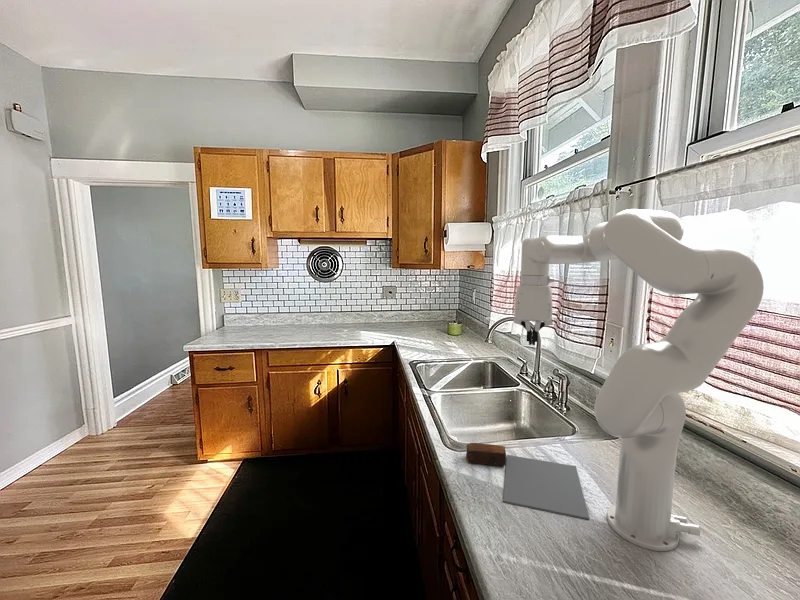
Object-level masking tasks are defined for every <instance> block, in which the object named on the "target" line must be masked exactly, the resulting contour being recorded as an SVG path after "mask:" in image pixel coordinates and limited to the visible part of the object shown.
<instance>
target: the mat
mask: <svg viewBox="0 0 800 600" xmlns="http://www.w3.org/2000/svg"><path fill="white" fill-rule="evenodd" d="M503 490H504V491H503V500H502V501H503V503H506V504H511V505H514V506H520V507H525V508H531V509H534V510H538V511H539V510H540V511H545V512H549V513H554V514H559V515H564V516H569V517H574V518H578V519H584V520H588V521H589V520H590V516H589V512H588V507H587V504H586V500H585V496H584V491H583V487H582V484H581V480H580V476H579V474H578V470H577V466H576V465H571V464H567V463H566V464H564V463H559V462H553V461H548V460H547V461H546V460H540V459H535V458H530V457H529V458H528V457H525V456H524V457H523V456H518V455H510V454H506V464H505V476H504V489H503Z"/></svg>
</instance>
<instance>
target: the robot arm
mask: <svg viewBox="0 0 800 600" xmlns="http://www.w3.org/2000/svg"><path fill="white" fill-rule="evenodd" d="M683 236H684V224H683V223H682V221H681V219H680V218H679V217H678V216H676V215H675V214H673V213H672V212H668V211H664V210H658V209H657V210H655V209H639V208H630V209H625V210H622V211H620V212H617V213H616V214H614V215H613V216H611V218H610V219H608V221H604V222H600V223H597V224H596V225H595V226H593V227H592V229H591V230H590V232H589V233H586V234H580V235H552V234H551V235H543V236H539V237H526V238H525V239H524V240H523V241H522V243H521V260H520V285H517V288H516V293H515V300H514V319H513V324H516V325H521V326H522V327H523V328H524V329H525V331H526V342H528V345H529V346H532V345H533V346H536V343H538V337H539V331H540V330H541V329H543V328H544V327H548V326H552V325H553V324H554V323H553V295H552V293H553V292H552V287H551V286H550V285H549V284H551V283H555V277H551V276H550V265H558V264H559V265H577V264H587V263H594V262H605V261H611V260H616V259H618V260H620V261H621V262H622V263H623V264H625V265H626V267H628V268H629V269H630V270H631V271H633V273H635V274H636V275H638V276H639V278H641V279H642V280H643V281H644V282H645V283H646V284H648V285H650V286H651V287H652V288H654V289H656V290H657V291H660V292H662V293H664V294H665V293H666V294H668V295H669V294H670V295H691V294H692V295H693V294H697V295H696V298H695V299H694V300H693V301H692V302H691V303H690V304H689V305H688V306H687V307H685V308H684V309H683V310H682V312H680V314H679V315H678V316H677V318H676V319H675V322H674V323H673V325H672V327H671V328H670V329H669V330H668V332H667V333H666V335H665V336H664V337H663V338H661V339H660V340H657V341H655V342H654V341H653V342H647V343H642V344H638V345H635V346H632V347H630V348H628V349H627V350H626V351H624V352H623V353H622V354H621V355H620V357H619V358H618V359H617V360H616V362H615V364H614V366H613V367H612V368H611V370H610V372H609V374H608V376H607V378H606V379H605V381H604V383H603V384H602V386H601V388H600V390H599V391H598V393H597V395H596V397H595V402H594V409H593V410H594V416H595V419H596V421H597V423H598V425H599V426H600V428H601V429H602V430H603V431H604V432H605V433H607V434H608V435H610V436H613V437H615V438H620V445H619V454H618V455H619V457H618V470H617V471H618V472H617V483H616V485H617V486H616V498H615V500H616V501H615V504H612V505H611V506H609V508H608V509H607V512H606V519H607V522H608V524H609V526H610V527H611V529H612V530H613V531H614V532H615V533H616V534H617V535H619V536H620V537H622V539H624V540H625V541H628V542H629V543H630V544H633V545H636V546H637V547H640V548H643V549H647V550H650V551H655V552H667V551H672V550H675V549H676V548H677V547H678V546H679V542H680V534H682V533H683V534H684V533H686V534H688V535H692V536H698V537H700V536H701V530H700V529H701V528H700V526H699V525H698V524H695V523H691V522H690V523H689V522H688V519H687V517H686V516H682V515H678V514H677V515H676V514H673V513H672V507H673V497H674V496H673V495H674V485H675V484H674V483H675V473H676V465H677V454H678V449H679V448H678V446H679V443H680V440H681V439H680V438H681V434H682V432H683V429H684V426H685V421H686V415H687V412H686V411H687V408H686V405H685V401H684V399H683V397H682V396H681V395H680V394H681V393H686V392H690V391H693V390H695V389H697V388H699V387H701V386H702V385H703V384H704V383H705V381H706V380H707V379H708V377H709V376H710V374H711V373H712V372H713V371H714V369H715V368H716V366H717V365H718V364H719V362H720V361H721V360H722V359H723V358H724V356H725V354H726V353H727V352H728V351H729V349H730V348H731V346H732V345H733V343H734V342H735V340H736V339H737V338H738V337H739V335H740V334H741V333H742V331H743V330H744V329H745V328H746V326H747V325H748V323H750V321H751V320H752V318H753V317H754V316H755V314H756V312H757V310H758V308H759V307H760V305H761V303H762V299H763V295H764V288H765V287H764V280H763V276H762V272H761V270H760V269H759V266H758V265H757V264H756V262H755V261H754V260H753V259H752V258H751V257H750V256H749V255H748V254H746V253H745V252H743V251H741V250H739V249H737V248H734V247H732V246H728V245H722V244H712V243H711V244H710V243H709V244H708V243H706V244H705V243H703V244H702V243H701V244H700V243H699V244H696V243H683V242H682V241H681V240H682V238H683ZM530 321H531V322H535V323H534V327H533V330H532V327H531V322H530Z"/></svg>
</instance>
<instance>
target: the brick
mask: <svg viewBox="0 0 800 600" xmlns="http://www.w3.org/2000/svg"><path fill="white" fill-rule="evenodd" d="M465 453H466V457H465V459H466V461H467V462H468V463H471V464H480V465H491V466H503V467H504V466H506V462H507V451H506V447H505V446H504V445H497V444H489V443H479V442H478V443H477V442H470V443H467V445H466V452H465Z"/></svg>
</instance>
